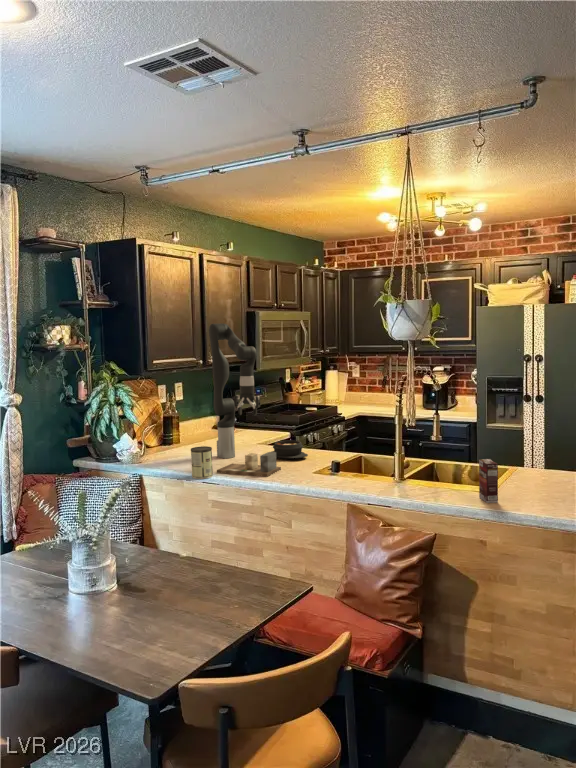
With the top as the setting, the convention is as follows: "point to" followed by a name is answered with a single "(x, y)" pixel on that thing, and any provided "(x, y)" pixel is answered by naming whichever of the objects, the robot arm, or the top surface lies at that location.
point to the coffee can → (201, 462)
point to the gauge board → (263, 469)
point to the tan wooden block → (251, 461)
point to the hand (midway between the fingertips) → (247, 415)
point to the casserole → (288, 449)
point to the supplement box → (488, 480)
